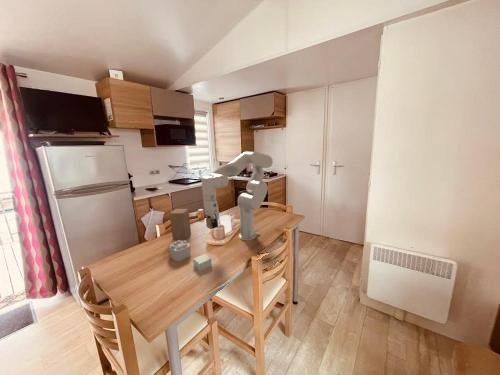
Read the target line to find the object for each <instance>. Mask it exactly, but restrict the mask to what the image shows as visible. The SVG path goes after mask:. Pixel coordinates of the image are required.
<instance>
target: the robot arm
mask: <svg viewBox="0 0 500 375" xmlns="http://www.w3.org/2000/svg"><path fill="white" fill-rule="evenodd" d="M273 163H274V162H273V158H272V156H270V155H268V154H265V153H261V152H258V151H244V152H243V153H241V154H240V155H239V156H237V157H236V158H235V159H234V160H232V161H231V162H229V163H227V164H225V165H223V166H221V167H219V168H217V169H216V170H214V171H213V172H212V173H210V175H209V176H206V175H205V176H203V177H201V188H202V199H203V211H204V214H205V220H206V219H208V218H212V221H213V222H212V228H213V229H216V228H218V227H217V220H219V218H220V217H219V216H220V210H219V203H218V200H217V192H216V189H219V188H225V187H227V186H228V184H229V182H230V181H229V176H234V175H237V174H240V173H241V172H243V170H245V169H247V167H248V166H250V165H251V167H252V173H251V176H250V177H249V180H248V182H247V184H246V187H245V189H246V192H247V193H245V192H244V193H241V194H239V195H238V197H237V205H238V209H239V211H238V212H239V227H240V228H239V229H240V233H239V234H238V238H239V239H240V240H242V241H244V242H245V241H246V242H247V241H252V240H255V239H256V238H257V234H256V233H257V232H258V231H259V228H258V227H257V228H255V224H254V223H255V221H254V211H257V210H259V209H260V207H262V204H263V202H264V200H265V198H266V196H267V193H268V190H269V188H268V184H267V183H266V182H265V181H263V179H264V177H265V173H264V169H270V168H271V167H272V165H273ZM263 168H264V169H263ZM214 218H215V219H214Z"/></svg>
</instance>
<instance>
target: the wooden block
mask: <svg viewBox="0 0 500 375" xmlns="http://www.w3.org/2000/svg"><path fill="white" fill-rule="evenodd" d="M169 220H170V227H171V228H170V229H171V236H172V240H174V241H178V240H180V241H184V240H185V241H187V239H188V238H189V237H190V236H191V235H192V230H191V229H192V228H191V221H190V212H189V208H175V209H173V210H172V211H171V212H169Z"/></svg>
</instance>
